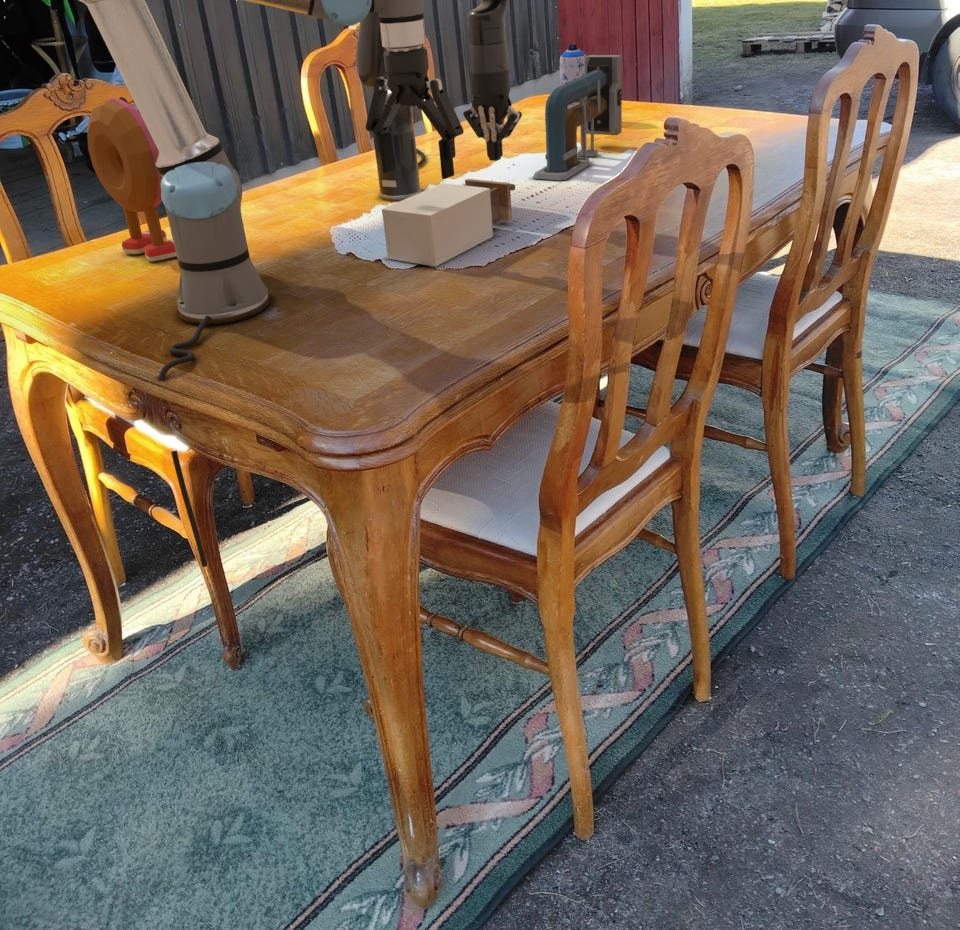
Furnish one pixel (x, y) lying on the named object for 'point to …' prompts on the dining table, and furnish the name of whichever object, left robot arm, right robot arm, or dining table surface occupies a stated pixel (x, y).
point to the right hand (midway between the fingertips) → (495, 159)
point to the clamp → (582, 116)
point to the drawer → (496, 198)
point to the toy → (129, 173)
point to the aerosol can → (572, 66)
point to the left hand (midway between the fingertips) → (418, 174)
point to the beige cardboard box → (437, 224)
